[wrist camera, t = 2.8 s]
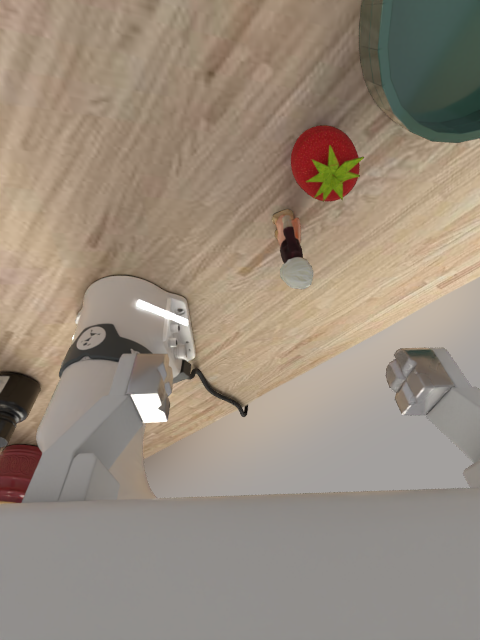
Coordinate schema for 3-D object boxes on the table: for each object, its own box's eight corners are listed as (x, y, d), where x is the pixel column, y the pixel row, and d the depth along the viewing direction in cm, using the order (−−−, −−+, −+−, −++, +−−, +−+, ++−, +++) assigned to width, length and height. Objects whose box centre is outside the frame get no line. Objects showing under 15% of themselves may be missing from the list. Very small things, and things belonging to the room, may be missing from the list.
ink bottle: (-3, 364, 58) (-41, 424, 49) (47, 379, 62) (19, 436, 54) (-12, 387, 63) (-48, 444, 55) (34, 399, 67) (7, 454, 59)
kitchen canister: (9, 459, 91) (-24, 529, 78) (-4, 442, 82) (-44, 518, 69) (56, 461, 93) (31, 529, 81) (49, 444, 84) (19, 518, 72)
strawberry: (314, 95, 30) (343, 120, 23) (354, 152, 34) (389, 188, 27) (270, 144, 33) (283, 179, 26) (311, 191, 37) (333, 233, 30)
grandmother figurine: (304, 241, 41) (326, 302, 32) (277, 250, 42) (292, 312, 33) (290, 188, 36) (313, 245, 27) (260, 200, 37) (272, 258, 28)
